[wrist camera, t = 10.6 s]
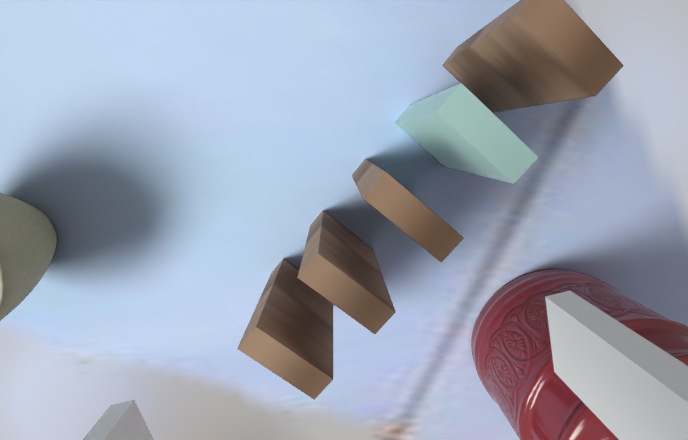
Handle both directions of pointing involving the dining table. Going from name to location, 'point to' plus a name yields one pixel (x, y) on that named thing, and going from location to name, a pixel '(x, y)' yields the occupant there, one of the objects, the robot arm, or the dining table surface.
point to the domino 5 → (466, 135)
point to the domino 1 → (292, 332)
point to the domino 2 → (345, 273)
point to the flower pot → (22, 250)
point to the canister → (536, 354)
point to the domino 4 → (533, 58)
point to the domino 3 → (405, 210)
